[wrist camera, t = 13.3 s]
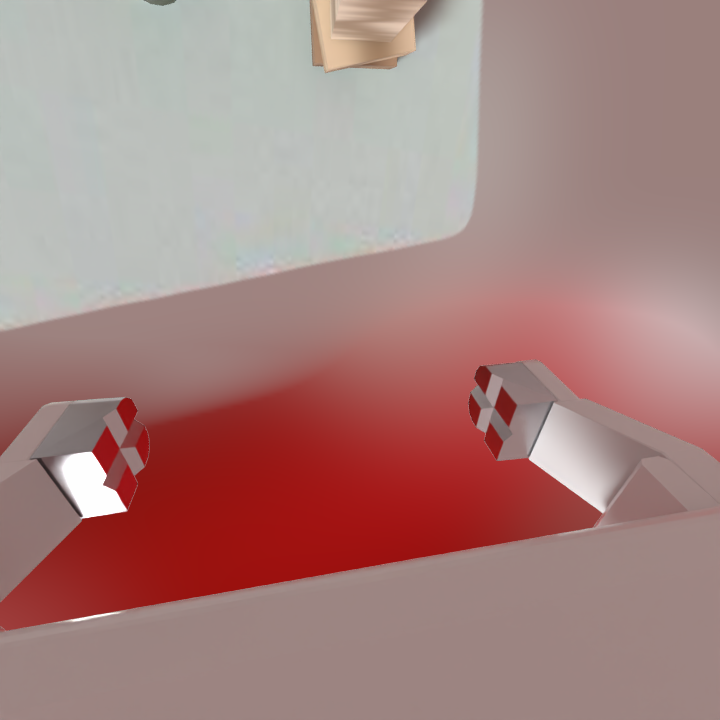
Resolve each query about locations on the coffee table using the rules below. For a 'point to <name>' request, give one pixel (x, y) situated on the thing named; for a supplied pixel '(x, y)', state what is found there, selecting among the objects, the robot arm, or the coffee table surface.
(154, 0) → the beer can
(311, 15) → the light brown flat block
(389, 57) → the oak block
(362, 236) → the coffee table surface
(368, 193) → the coffee table surface
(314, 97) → the coffee table surface
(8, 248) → the coffee table surface
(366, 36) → the tan block
